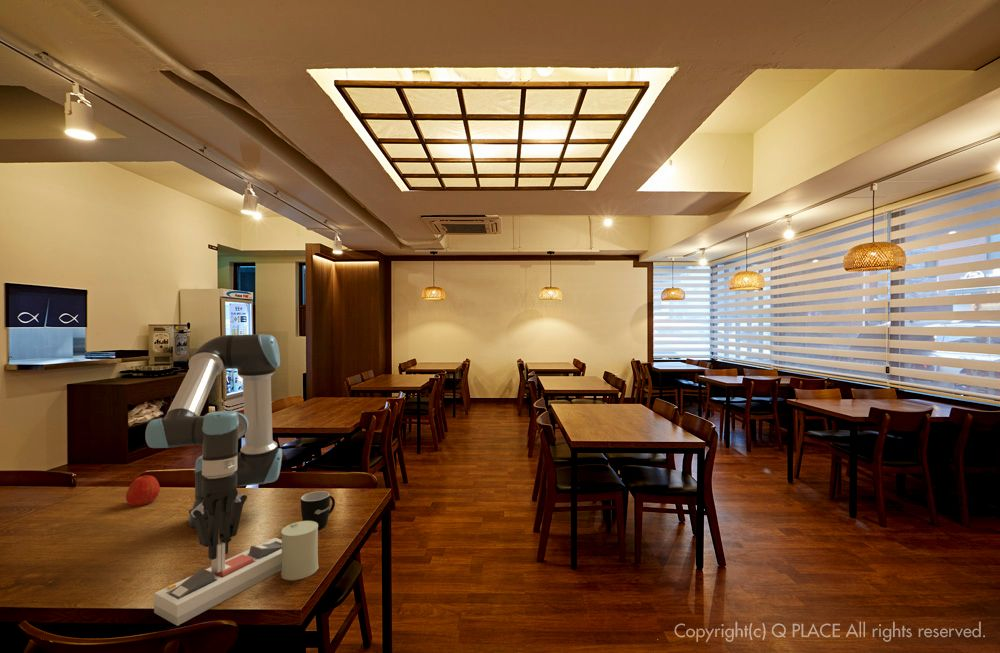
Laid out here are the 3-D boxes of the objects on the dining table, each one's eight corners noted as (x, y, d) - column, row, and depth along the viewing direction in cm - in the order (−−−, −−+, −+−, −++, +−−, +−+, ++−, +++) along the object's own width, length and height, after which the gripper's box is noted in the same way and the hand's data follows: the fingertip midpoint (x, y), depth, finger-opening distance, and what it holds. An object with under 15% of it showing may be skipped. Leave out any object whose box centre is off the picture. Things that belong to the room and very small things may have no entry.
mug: (312, 534, 137) (312, 503, 137) (295, 528, 141) (294, 497, 141) (343, 520, 147) (343, 490, 147) (325, 515, 152) (325, 486, 152)
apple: (164, 501, 167) (164, 474, 167) (131, 510, 158) (131, 482, 158) (154, 496, 172) (154, 470, 172) (121, 504, 164) (121, 477, 164)
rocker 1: (181, 605, 97) (178, 598, 97) (171, 599, 100) (168, 593, 99) (215, 578, 104) (212, 572, 103) (204, 574, 106) (201, 567, 106)
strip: (177, 625, 94) (177, 603, 94) (154, 612, 99) (154, 591, 99) (321, 548, 128) (321, 531, 128) (298, 541, 133) (298, 525, 133)
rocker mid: (222, 579, 106) (222, 571, 106) (212, 575, 108) (212, 567, 108) (252, 565, 112) (253, 557, 112) (242, 561, 114) (242, 553, 114)
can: (306, 558, 122) (306, 516, 123) (325, 568, 117) (325, 523, 117) (274, 573, 115) (274, 528, 115) (292, 584, 109) (292, 537, 110)
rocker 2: (259, 557, 114) (261, 549, 114) (248, 553, 116) (251, 545, 117) (284, 553, 120) (286, 545, 121) (273, 549, 122) (275, 542, 123)
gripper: (199, 483, 100) (197, 587, 99) (254, 469, 112) (253, 561, 111) (182, 479, 104) (180, 579, 103) (237, 465, 115) (235, 554, 114)
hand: (218, 569), depth 107 cm, fingers closed
